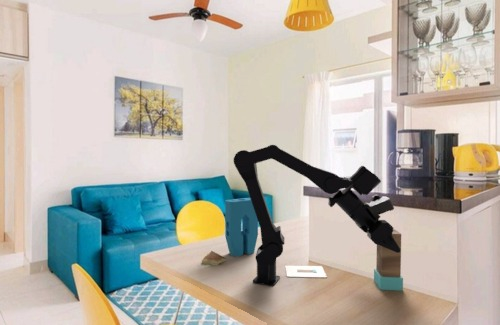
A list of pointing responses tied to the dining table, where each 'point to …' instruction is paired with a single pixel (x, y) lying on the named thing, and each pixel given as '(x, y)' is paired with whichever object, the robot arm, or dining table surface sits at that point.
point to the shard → (213, 258)
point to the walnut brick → (389, 259)
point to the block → (234, 235)
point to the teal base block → (388, 282)
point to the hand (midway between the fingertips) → (393, 246)
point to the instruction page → (305, 271)
